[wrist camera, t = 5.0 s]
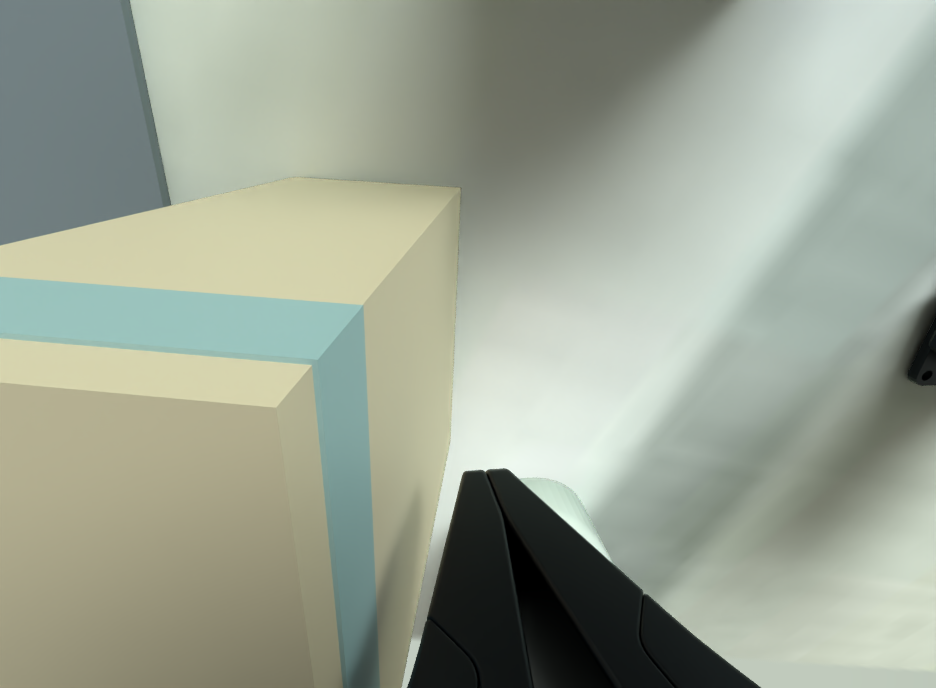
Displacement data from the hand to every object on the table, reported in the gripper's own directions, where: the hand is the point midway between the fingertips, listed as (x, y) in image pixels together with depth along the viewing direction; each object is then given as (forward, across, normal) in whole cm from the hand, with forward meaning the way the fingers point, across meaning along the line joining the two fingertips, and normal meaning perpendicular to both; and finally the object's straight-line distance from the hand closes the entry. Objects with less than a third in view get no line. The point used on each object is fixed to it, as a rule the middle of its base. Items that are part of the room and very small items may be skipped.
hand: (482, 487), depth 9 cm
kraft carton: (+8, +2, 0) cm, 8 cm away
